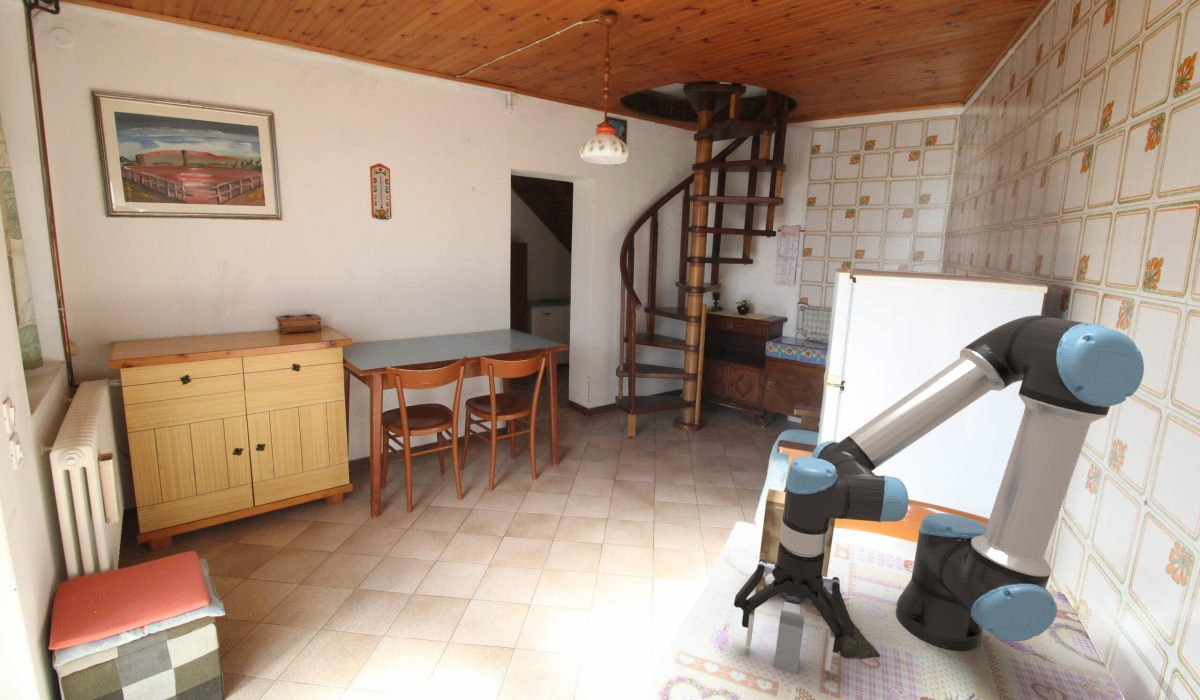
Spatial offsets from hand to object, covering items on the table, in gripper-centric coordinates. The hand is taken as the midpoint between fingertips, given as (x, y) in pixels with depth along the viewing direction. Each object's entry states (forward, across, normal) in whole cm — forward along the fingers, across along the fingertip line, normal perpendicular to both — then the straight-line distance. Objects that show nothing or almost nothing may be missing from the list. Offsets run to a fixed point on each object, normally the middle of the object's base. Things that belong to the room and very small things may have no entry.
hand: (787, 653), depth 104 cm
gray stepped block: (+2, 0, -7) cm, 7 cm away
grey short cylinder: (+2, 0, -22) cm, 22 cm away
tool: (+2, -10, -17) cm, 20 cm away
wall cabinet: (+2, 0, -22) cm, 22 cm away
